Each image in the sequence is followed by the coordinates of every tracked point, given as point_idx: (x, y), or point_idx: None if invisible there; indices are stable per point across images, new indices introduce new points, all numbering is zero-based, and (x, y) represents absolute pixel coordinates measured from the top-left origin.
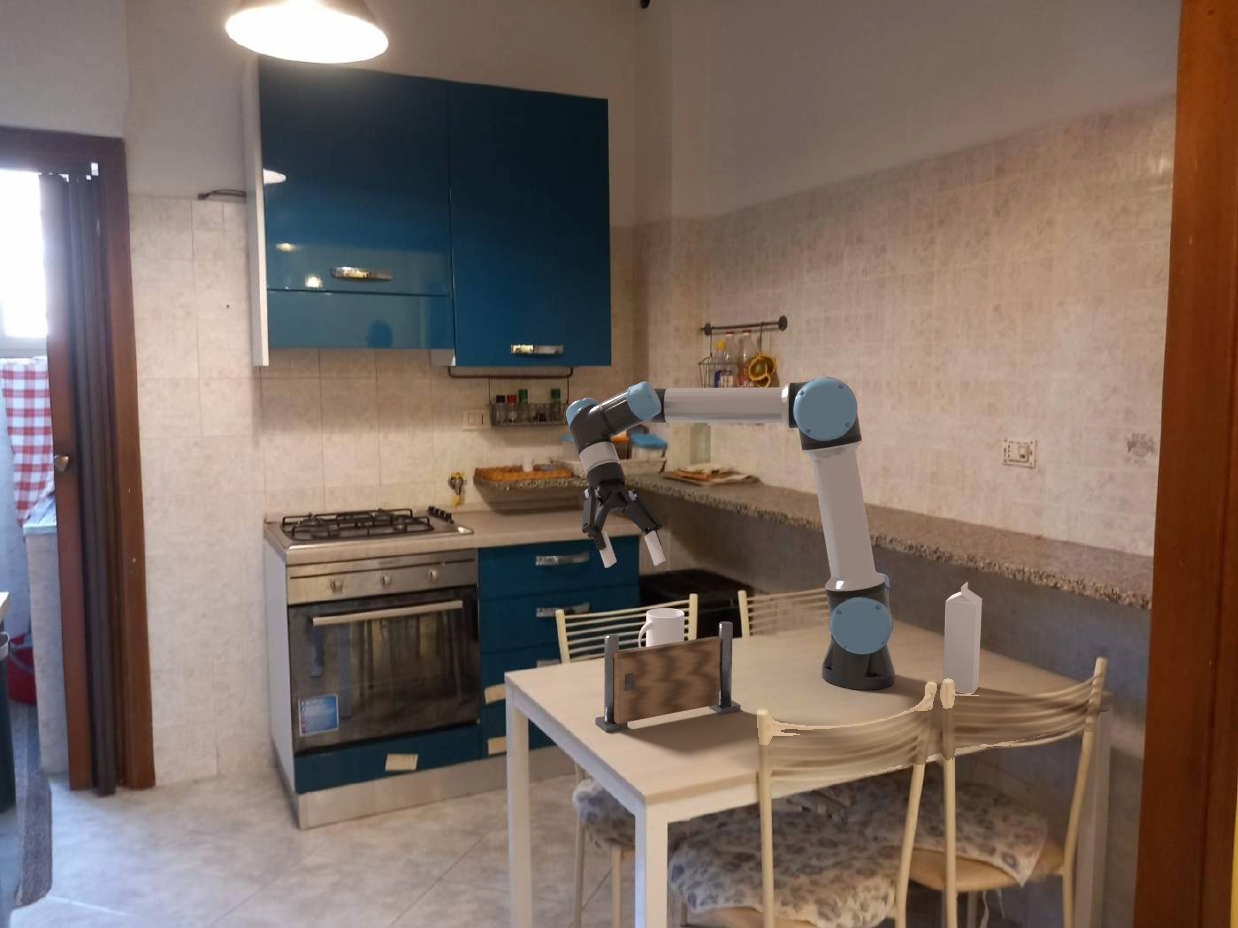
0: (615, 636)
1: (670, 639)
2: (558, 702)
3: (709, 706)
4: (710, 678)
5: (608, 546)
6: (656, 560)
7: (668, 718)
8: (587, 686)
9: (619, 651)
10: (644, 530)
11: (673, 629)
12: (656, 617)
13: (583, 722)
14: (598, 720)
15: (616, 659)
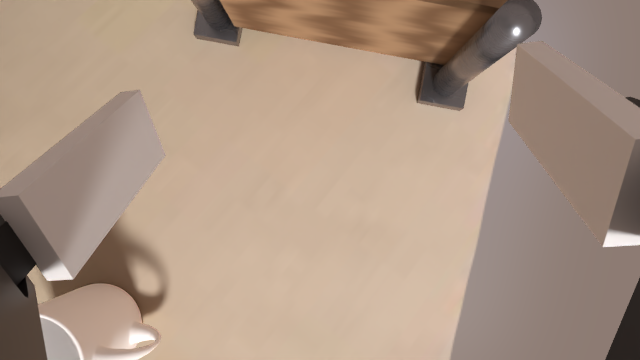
0: (514, 5)
1: (90, 300)
2: (448, 243)
3: (238, 43)
4: None
5: (593, 76)
6: (149, 141)
7: (336, 50)
8: (348, 282)
9: (497, 4)
10: (30, 298)
11: (67, 304)
12: (81, 348)
13: (471, 130)
14: (465, 95)
15: None
